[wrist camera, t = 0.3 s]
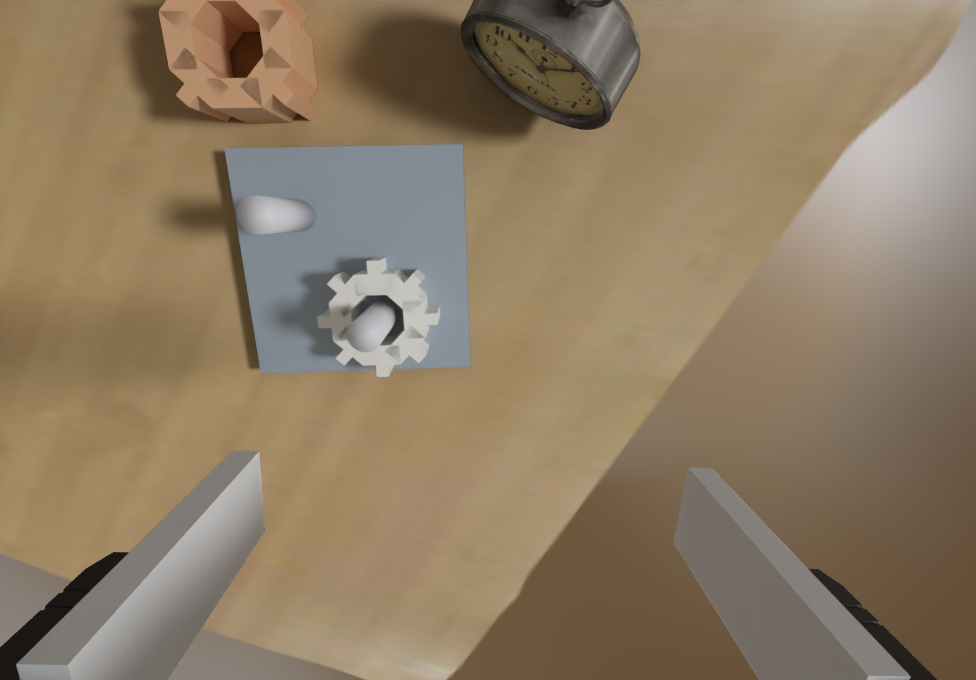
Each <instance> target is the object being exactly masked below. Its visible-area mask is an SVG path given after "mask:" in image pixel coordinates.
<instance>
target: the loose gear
mask: <svg viewBox="0 0 976 680" xmlns="http://www.w3.org/2000/svg"><path fill="white" fill-rule="evenodd" d="M159 17H160V22H161V28H162V33H163V39H164V44H165V49H166V55H167V60H168V66H169V70H170V71H171V72H172V73H174V74H175V75H176V76H177V77H178V78H179V79H180V80H181V81H182V82H184V85H183V86H182V87H181V89H180V90H179V91H178V93H177V94H176V96H177V97H178V98H179V99H180V100H182V101H183V102H184V103H185V104H186V105H187V106H188V107H190V108H193V109H195V110H198V111H200V112H203V113H206V114H208V115H211V116H213V117H216V118H218V119H221V120H223V121H226V122H228V121H229V119H230V118H231V117H234V118H236V119H238V120H241V121H243V122H246V123H291V122H292V120H293V119H294V118H295V117H296V115H297V114H300V115H302V116H303V117H305V118H307V119H308V120H311V119H312V118H313V117H314V115H315V114H316V113H317V112H318V110H317V109H316V108H315V107H314V106H313V105H312V104H311V103H310V102H309V101H308V100H309V99H310V98H311V96H312V95H313V94H314V93H315V91H316V90H317V80H316V71H315V61H314V52H313V43H312V39H311V38H310V37H309V35H308V34H307V33H306V32H305V31H304V30H303V29H302V28H301V27H300V26H301V25H302V23H303V22H304V21H305V19H306V18H307V17H308V15H307V14H306V13H305V12H304V11H303V9H302V8H301V7H300V6H299V4H298V3H297V2H296V1H295V0H166V1H165V3H164V4H163V5H162V7H161V8H160V10H159ZM244 32H260V34H261V41H262V49H263V57H262V58H261V59H260V61H259V62H258V63H257V65H256V66H255V67H254V69H253V70H252V71H251V73H250V74H249V75H248V77H247V78H233V71H232V64H231V58H230V51H231V49H232V48H233V47H234V45H235V44H236V43H237V41H238V40H239V39H240V37H241V36H242V34H243V33H244Z"/></svg>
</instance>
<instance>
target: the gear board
mask: <svg viewBox="0 0 976 680" xmlns="http://www.w3.org/2000/svg"><path fill="white" fill-rule="evenodd" d="M224 149H225V156H226V162H227V168H228V174H229V180H230V186H231V193H232V199H233V205H234V211H235V217H236V223H237V230H238V236H239V242H240V248H241V254H242V260H243V267H244V273H245V279H246V285H247V291H248V297H249V303H250V310H251V316H252V322H253V328H254V334H255V340H256V347H257V353H258V359H259V365H260V371H261V374H266V373H297V372H327V371H358V370H376V371H377V377H388V376H389V374H390V372H391V371H392V369H419V368H450V367H470V338H469V308H468V279H467V249H466V220H465V190H464V161H463V144H447V145H391V146H336V147H280V148H224Z"/></svg>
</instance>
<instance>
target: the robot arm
mask: <svg viewBox="0 0 976 680" xmlns="http://www.w3.org/2000/svg"><path fill="white" fill-rule="evenodd" d="M264 531H265V523H264V510H263V496H262V483H261V470H260V457H259V451H236V450H232V451H231V452H230V453H229V454H228V455H227V456H226V457H225V458H224V459H223V460H222V461H221V462H220V463H219V464H218V465H217V466H216V467H215V468H214V469H213V470H212V471H211V472H210V473H209V474H208V475H207V476H206V477H205V478H204V479H203V480H202V481H201V482H200V483H199V484H198V485H197V486H196V487H195V488H194V489H193V490H192V491H191V492H190V493H189V494H188V495H187V496H186V497H185V498H184V499H183V500H182V501H181V502H180V503H179V504H178V505H177V506H176V507H175V508H174V509H173V510H172V511H171V512H170V513H169V514H168V515H167V516H166V517H165V518H164V519H163V520H162V521H161V522H160V523H159V524H158V525H157V526H156V527H155V528H154V529H153V530H152V531H151V532H150V533H148V534H147V535H146V536H145V537H144V538H143V539H142V540H141V541H140V542H139V543H138V544H137V545H136V546H135V547H134V548H133V549H132V550H131V551H130V552H129V553H127V552H113V553H111V554H110V555H108V556H106V557H105V558H103V559H101V560H100V561H98V562H96V563H95V564H93V565H91V566H90V567H88V568H86V569H85V570H84V571H83V572H82V573H81V574H80V575H78V576H77V577H76V578H75V579H74V580H73V581H72V582H71V583H70V584H69V585H68V586H67V587H65V589H64V591H63V593H59V594H58V595H57V596H56V597H55V598H53V599H52V600H51V601H50V602H49V603H48V604H47V605H46V606H45V609H44V610H42V611H40V612H38V613H37V614H36V615H35V616H34V617H33V618H32V619H31V620H30V621H28V622H27V623H26V624H25V625H24V626H23V627H22V628H21V629H20V630H19V631H18V632H16V633H15V634H14V635H13V636H12V637H11V638H10V639H9V640H8V641H7V642H6V643H4V644H3V645H2V646H1V647H0V680H168V678H169V677H170V675H171V674H172V672H173V670H174V669H175V668H176V666H177V665H178V663H179V662H180V660H181V658H182V657H183V655H184V654H185V652H186V651H187V649H188V648H189V646H190V645H191V643H192V642H193V640H194V639H195V637H196V635H197V634H198V632H199V631H200V629H201V628H202V626H203V625H204V623H205V622H206V620H207V619H208V617H209V616H210V614H211V613H212V611H213V609H214V608H215V606H216V605H217V603H218V602H219V600H220V599H221V597H222V596H223V594H224V593H225V591H226V590H227V588H228V586H229V585H230V583H231V582H232V580H233V579H234V577H235V576H236V574H237V573H238V571H239V570H240V568H241V567H242V565H243V563H244V562H245V560H246V559H247V557H248V556H249V554H250V553H251V551H252V550H253V548H254V547H255V545H256V544H257V542H258V540H259V539H260V537H261V536H262V534H263V533H264ZM674 544H675V545H676V547H677V549H678V550H679V552H680V553H681V555H682V556H683V558H684V560H685V562H686V563H687V565H688V566H689V568H690V570H691V571H692V573H693V574H694V576H695V578H696V579H697V581H698V582H699V584H700V586H701V587H702V589H703V590H704V592H705V594H706V595H707V597H708V599H709V600H710V602H711V604H712V605H713V607H714V608H715V610H716V612H717V613H718V615H719V616H720V618H721V620H722V621H723V623H724V624H725V626H726V628H727V629H728V631H729V632H730V634H731V636H732V637H733V639H734V640H735V642H736V644H737V645H738V647H739V649H740V650H741V652H742V653H743V655H744V657H745V658H746V660H747V662H748V663H749V665H750V666H751V668H752V670H753V671H754V673H755V674H756V676H757V678H758V679H759V680H937V679H936V678H935V677H934V676H933V675H932V674H931V673H930V672H929V671H928V670H926V668H925V667H924V666H923V665H922V664H921V663H920V662H919V661H918V660H917V659H916V658H915V657H914V656H912V654H911V653H910V652H909V651H908V650H907V649H906V648H905V647H904V646H903V645H902V644H901V643H900V642H899V641H898V640H897V639H896V638H895V637H893V635H891V633H889V631H887V629H886V628H885V627H884V626H881V625H879V623H878V621H877V619H875V617H874V616H872V614H871V613H870V612H868V611H867V610H866V609H863V608H862V605H861V604H860V603H859V602H858V601H857V600H856V599H855V598H854V597H853V596H852V595H851V594H850V593H849V592H848V591H847V590H846V589H845V588H844V587H843V586H842V585H841V584H839V583H838V582H836V581H835V580H833V579H832V578H830V577H829V576H827V575H826V574H825V573H823V572H822V571H820V570H819V569H808V568H807V567H806V566H805V565H804V564H803V563H802V562H801V561H800V560H799V559H798V558H797V557H796V556H795V555H794V554H793V553H792V552H791V551H790V549H788V547H787V546H786V545H785V544H784V543H783V542H782V541H781V540H780V539H779V538H778V537H777V536H776V535H775V534H774V533H773V532H772V531H771V530H770V529H769V528H768V526H767V525H766V524H765V523H764V522H763V521H762V520H761V519H760V518H759V517H758V516H757V515H756V514H755V513H754V512H753V511H752V510H751V509H750V508H749V507H748V506H747V504H746V503H745V502H744V501H743V500H742V499H741V498H740V497H739V496H738V495H737V494H736V493H735V492H734V491H733V490H732V489H731V488H730V487H729V486H728V485H727V484H726V482H725V481H724V480H723V479H722V478H721V477H720V476H719V475H718V474H717V473H716V472H715V471H714V470H713V469H706V468H689V469H688V474H687V479H686V483H685V489H684V493H683V498H682V504H681V508H680V513H679V518H678V523H677V528H676V533H675V538H674Z"/></svg>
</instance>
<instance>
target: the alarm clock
mask: <svg viewBox="0 0 976 680" xmlns="http://www.w3.org/2000/svg"><path fill="white" fill-rule="evenodd" d="M461 37H462V41H463V44H464V47H465V49H466V51H467V53H468V54H469V56H470V58H471V59H472V60H473V62H474V63H475V64H476V66H477V67H478V68H479V69H480V71H481V72H482V73H483V74H484V75H485V76H486V77H487V78H488V79H489V80H490V81H491V82H492V83H494V84H495V85H496V86H497V87H498V88H499V89H500V90H502V91H503V92H504V93H505V94H507V95H508V96H509V97H511V98H512V99H513V100H515V101H516V102H518V103H519V104H521V105H523V106H524V107H526V108H528V109H529V110H531V111H533V112H534V113H536V114H538V115H540V116H542V117H544V118H547V119H549V120H551V121H553V122H556V123H559V124H562V125H565V126H568V127H572V128H577V129H583V130H590V129H596V128H599V127H602V126H604V125H605V124H606V123H608V122H609V120H610V118H611V116H612V113H613V112H614V110H615V108H616V106H617V104H618V103H619V101H620V99H621V97H622V95H623V94H624V92H625V90H626V88H627V87H628V85H629V83H630V81H631V80H632V78H633V76H634V74H635V72H636V70H637V68H638V65H639V60H640V43H639V38H638V34H637V31H636V28H635V26H634V23H633V21H632V19H631V17H630V15H629V13H628V12H627V10H626V9H625V7H624V6H623V4H622V3H621V2H620V1H619V0H474V1H473V3H472V5H471V7H470V9H469V11H468V13H467V15H466V17H465V19H464V21H463V23H462V25H461Z"/></svg>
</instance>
